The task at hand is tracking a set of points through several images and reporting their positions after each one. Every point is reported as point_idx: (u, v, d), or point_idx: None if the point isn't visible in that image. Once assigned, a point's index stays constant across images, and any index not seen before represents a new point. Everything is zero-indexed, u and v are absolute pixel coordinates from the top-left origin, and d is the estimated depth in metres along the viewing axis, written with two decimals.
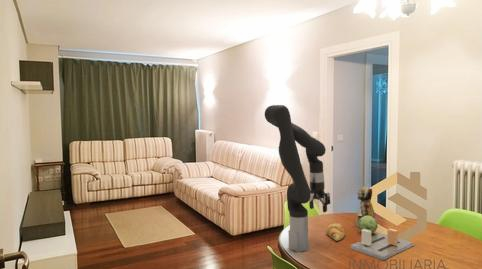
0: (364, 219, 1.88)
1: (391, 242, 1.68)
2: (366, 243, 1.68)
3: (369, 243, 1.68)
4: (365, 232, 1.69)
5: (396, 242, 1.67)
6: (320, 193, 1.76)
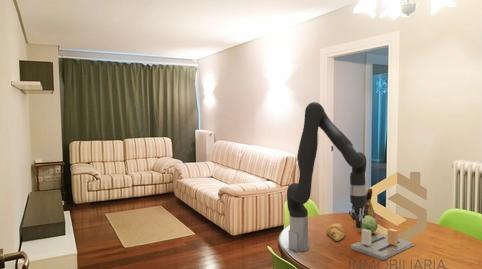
0: (364, 219, 1.88)
1: (391, 242, 1.68)
2: (366, 243, 1.68)
3: (369, 243, 1.68)
4: (365, 232, 1.69)
5: (396, 242, 1.67)
6: (364, 205, 1.67)
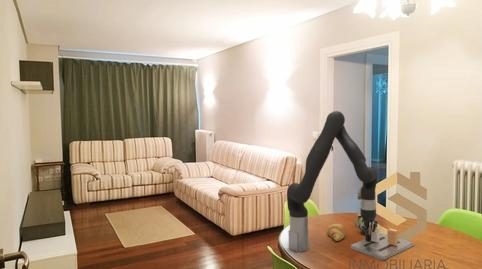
0: None
1: (391, 242, 1.68)
2: (374, 240, 1.72)
3: (377, 240, 1.72)
4: None
5: (396, 242, 1.67)
6: (373, 219, 1.71)
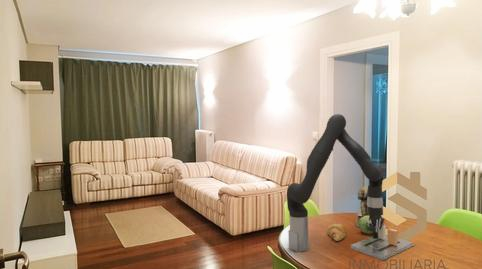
0: (364, 219, 1.88)
1: (391, 242, 1.68)
2: (381, 237, 1.76)
3: (384, 237, 1.75)
4: None
5: (396, 242, 1.67)
6: (380, 216, 1.74)
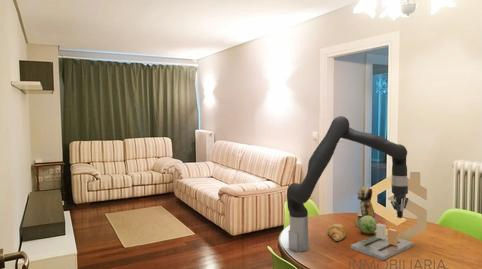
0: (364, 219, 1.88)
1: (391, 242, 1.68)
2: (381, 237, 1.76)
3: (384, 237, 1.75)
4: (380, 226, 1.76)
5: (396, 242, 1.67)
6: (405, 195, 1.73)
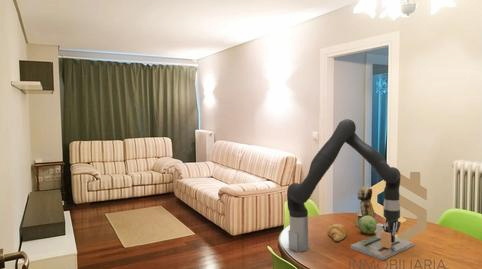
0: (364, 219, 1.88)
1: (384, 245, 1.65)
2: None
3: None
4: (380, 226, 1.76)
5: (389, 245, 1.64)
6: (397, 219, 1.69)
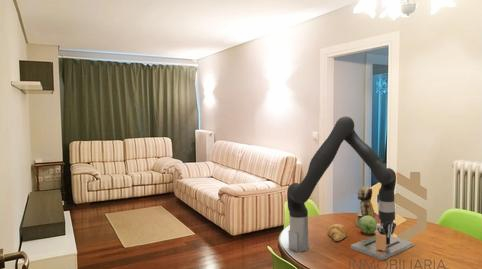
0: (364, 219, 1.88)
1: (379, 247, 1.62)
2: None
3: None
4: None
5: (384, 247, 1.62)
6: (392, 221, 1.67)
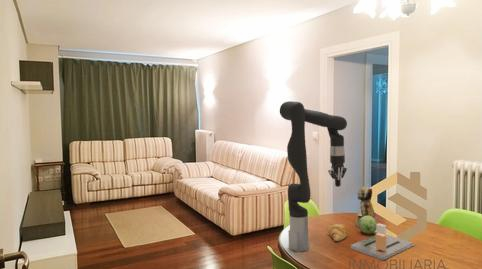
0: (364, 219, 1.88)
1: (379, 247, 1.62)
2: None
3: None
4: (380, 226, 1.76)
5: (384, 247, 1.62)
6: (342, 165, 1.82)
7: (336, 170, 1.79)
